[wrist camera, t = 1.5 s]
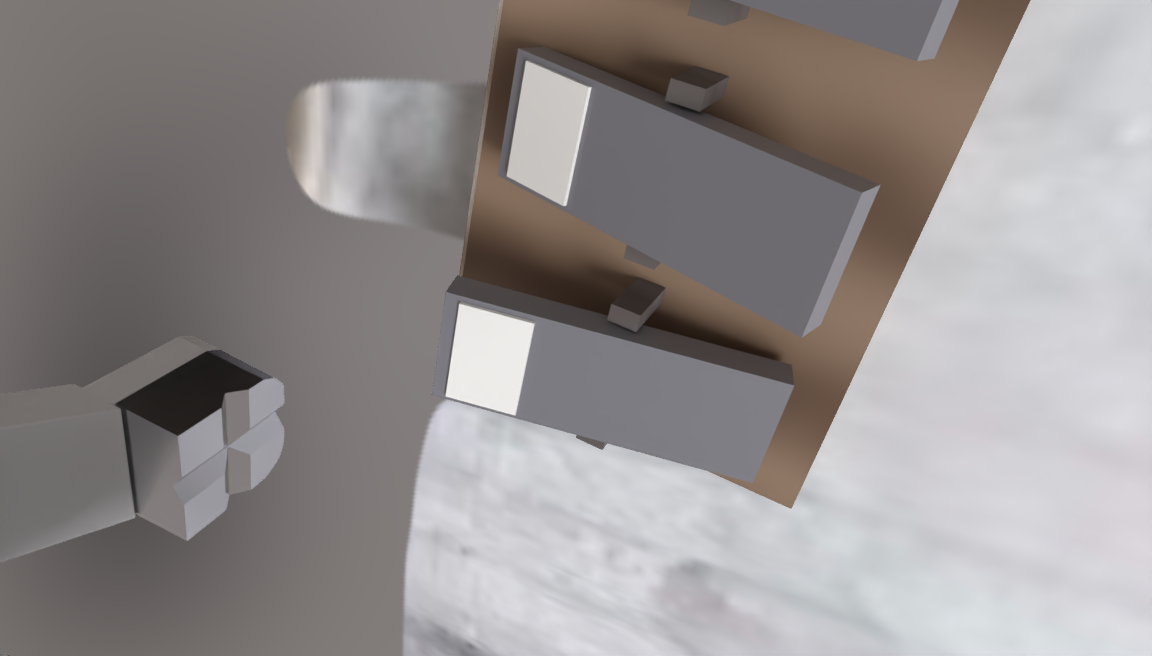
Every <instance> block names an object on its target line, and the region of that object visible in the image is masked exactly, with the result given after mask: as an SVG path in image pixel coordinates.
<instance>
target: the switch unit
mask: <svg viewBox="0 0 1152 656" xmlns="http://www.w3.org/2000/svg"><path fill="white" fill-rule="evenodd" d="M1029 2H1030V0H959V2H958V4H957V7H956V9H955V11H954V14H953V16H952V18H951V21H950V23H949V25H948V28H947V30H946V33H945V35H944V37H943V40H942V42H941V44H940V47H939V49H938V51H937V54H936V56H935V58H934V59H928V60H921V61H915V60H912V59H909V58H906V57H903V56H900V55H897V54H894V53H890V52H887V51H884V50H881V49H878V48H875V47H872V46H869V45H866V44H863V43H860V42H857V41H854V40H850V39H847V38H844V37H841V36H838V35H835V34H832V33H829V32H826V31H823V30H820V29H817V28H814V27H810V26H807V25H804V24H801V23H798V22H795V21H792V20H789V19H786V18H783V17H780V16H777V15H773V14H770V13H767V12H764V11H761V10H758V9H755V8H752V7H749V6H746V5H743V4H740V3H737V2H733V1H730V0H499V6H498V13H497V20H496V27H495V34H494V41H493V48H492V54H491V61H490V69H489V75H488V82H487V89H486V96H485V102H484V109H483V116H482V123H481V130H480V137H479V144H478V150H477V157H476V164H475V171H474V178H473V185H472V192H471V198H470V205H469V212H468V219H467V226H466V233H465V240H464V247H463V253H462V261H461V267H460V274H459V276H462V277H465V278H469V279H473V280H477V281H480V282H484V283H488V284H492V285H495V286H499V287H503V288H506V289H510V290H514V291H518V292H521V293H525V294H529V295H533V296H536V297H540V298H544V299H548V300H551V301H555V302H559V303H563V304H566V305H570V306H574V307H577V308H581V309H585V310H589V311H592V312H596V313H600V314H604V315H607V316H608V319H607V320H608V321H610V322H613V323H615V324H618V325H620V326H622V327H625V328H627V329H630V330H632V331H634V332H637V331H638V329H639V328H640V327H641V326H642V325H645V326H648V327H652V328H656V329H660V330H663V331H667V332H671V333H675V334H678V335H682V336H686V337H690V338H693V339H697V340H701V341H705V342H708V343H712V344H716V345H719V346H723V347H727V348H731V349H734V350H738V351H742V352H746V353H749V354H753V355H757V356H761V357H764V358H768V359H772V360H776V361H779V362H783V363H787V364H790V365H792V370H793V378H794V388H793V390H792V392H791V395H790V397H789V399H788V402H787V404H786V406H785V409H784V411H783V414H782V416H781V418H780V421H779V423H778V425H777V428H776V430H775V432H774V435H773V437H772V439H771V442H770V444H769V446H768V449H767V451H766V453H765V456H764V458H763V460H762V463H761V465H760V467H759V470H758V472H757V474H756V477H755V479H754V482H753V483H750V482H747V481H743V480H739V479H736V478H732V477H728V476H725V475H721V474H717V473H714V472H711V473H713V474H716V475H718V476H720V477H722V478H724V479H727V480H729V481H731V482H733V483H735V484H738V485H740V486H742V487H744V488H746V489H749V490H751V491H753V492H755V493H757V494H760V495H762V496H764V497H766V498H768V499H771V500H773V501H775V502H777V503H779V504H782V505H784V506H786V507H788V508H792V506H793V504H794V502H795V500H796V498H797V495H798V493H799V491H800V489H801V487H802V485H803V483H804V481H805V478H806V476H807V474H808V472H809V470H810V468H811V466H812V464H813V461H814V459H815V457H816V455H817V453H818V451H819V449H820V447H821V444H822V442H823V440H824V438H825V436H826V434H827V432H828V430H829V427H830V425H831V423H832V421H833V419H834V417H835V415H836V413H837V410H838V408H839V406H840V404H841V402H842V400H843V398H844V396H845V393H846V391H847V389H848V387H849V385H850V383H851V381H852V379H853V376H854V374H855V372H856V370H857V368H858V366H859V364H860V361H861V359H862V357H863V355H864V353H865V351H866V349H867V347H868V344H869V342H870V340H871V338H872V336H873V334H874V332H875V330H876V327H877V325H878V323H879V321H880V319H881V317H882V315H883V313H884V310H885V308H886V306H887V304H888V302H889V300H890V298H891V296H892V293H893V291H894V289H895V287H896V285H897V283H898V281H899V279H900V276H901V274H902V272H903V270H904V268H905V266H906V264H907V262H908V259H909V257H910V255H911V253H912V251H913V249H914V247H915V245H916V242H917V240H918V238H919V236H920V234H921V232H922V230H923V228H924V225H925V223H926V221H927V219H928V217H929V215H930V213H931V210H932V208H933V206H934V204H935V202H936V200H937V198H938V196H939V193H940V191H941V189H942V187H943V185H944V183H945V181H946V179H947V176H948V174H949V172H950V170H951V168H952V166H953V164H954V162H955V159H956V157H957V155H958V153H959V151H960V149H961V147H962V145H963V142H964V140H965V138H966V136H967V134H968V132H969V130H970V128H971V125H972V123H973V121H974V119H975V117H976V115H977V113H978V111H979V108H980V106H981V104H982V102H983V100H984V98H985V96H986V94H987V91H988V89H989V87H990V85H991V83H992V81H993V79H994V77H995V74H996V72H997V70H998V68H999V66H1000V64H1001V62H1002V59H1003V57H1004V55H1005V53H1006V51H1007V49H1008V47H1009V45H1010V42H1011V40H1012V38H1013V36H1014V34H1015V32H1016V30H1017V28H1018V25H1019V23H1020V21H1021V19H1022V17H1023V15H1024V13H1025V11H1026V8H1027V6H1028V4H1029ZM534 47H546V48H549V49H551V50H554V51H556V52H559V53H561V54H563V55H566V56H568V57H571V58H573V59H576V60H578V61H580V62H583V63H585V64H588V65H590V66H593V67H595V68H598V69H600V70H602V71H605V72H607V73H610V74H612V75H615V76H617V77H619V78H622V79H624V80H627V81H629V82H632V83H634V84H637V85H639V86H641V87H644V88H646V89H649V90H651V91H654V92H656V93H658V94H661V95H663V96H666V98H665V101H669V102H672V103H675V104H678V105H681V106H684V107H687V108H690V109H693V110H696V111H699V112H700V111H702V112H705V113H707V114H710V115H712V116H715V117H717V118H719V119H722V120H724V121H727V122H729V123H732V124H734V125H736V126H739V127H741V128H744V129H746V130H749V131H751V132H754V133H756V134H758V135H761V136H763V137H766V138H768V139H771V140H773V141H775V142H778V143H780V144H783V145H785V146H788V147H790V148H793V149H795V150H797V151H800V152H802V153H805V154H807V155H810V156H812V157H814V158H817V159H819V160H822V161H824V162H827V163H829V164H832V165H834V166H836V167H839V168H841V169H844V170H846V171H849V172H851V173H853V174H856V175H858V176H861V177H863V178H866V179H868V180H870V181H873V182H875V183H878V184H880V187H879V190H878V192H877V194H876V197H875V199H874V201H873V204H872V206H871V208H870V211H869V213H868V215H867V218H866V220H865V222H864V225H863V227H862V229H861V232H860V234H859V236H858V239H857V241H856V243H855V246H854V248H853V250H852V253H851V255H850V257H849V260H848V262H847V264H846V267H845V269H844V272H843V274H842V276H841V279H840V281H839V283H838V286H837V288H836V290H835V293H834V295H833V297H832V300H831V302H830V304H829V307H828V309H827V311H826V314H825V316H824V318H823V321H822V323H821V325H819V326H818V327H816V328H815V329H814V330H812V331H811V332H809V333H808V334H806V335H805V336H804V337H802V338H801V337H799V336H797V335H796V334H794V333H792V332H790V331H788V330H786V329H784V328H782V327H781V326H779V325H777V324H775V323H773V322H771V321H769V320H767V319H766V318H764V317H762V316H760V315H758V314H756V313H754V312H752V311H751V310H749V309H747V308H745V307H743V306H741V305H739V304H738V303H736V302H734V301H732V300H730V299H728V298H726V297H724V296H723V295H721V294H719V293H717V292H715V291H713V290H711V289H709V288H708V287H706V286H704V285H702V284H700V283H698V282H696V281H694V280H693V279H691V278H689V277H687V276H685V275H683V274H681V273H679V272H678V271H676V270H674V269H672V268H670V267H668V266H666V265H664V264H663V263H661V262H659V261H657V260H655V259H653V258H651V257H649V256H648V255H646V254H644V253H642V252H640V251H638V250H636V249H634V248H633V247H631V246H629V245H627V244H625V243H623V242H621V241H619V240H618V239H616V238H614V237H612V236H610V235H608V234H606V233H604V232H603V231H601V230H599V229H597V228H595V227H593V226H591V225H589V224H588V223H586V222H584V221H582V220H580V219H578V218H576V217H574V216H573V215H571V214H569V213H567V212H565V211H563V210H561V209H559V208H558V207H556V206H554V205H552V204H550V203H548V202H546V201H544V200H543V199H541V198H539V197H537V196H535V195H533V194H531V193H529V192H528V191H526V190H524V189H522V188H520V187H518V186H516V185H515V184H513V183H511V182H509V181H507V180H505V179H503V178H501V177H500V176H498V169H499V163H500V157H501V151H502V145H503V138H504V132H505V126H506V120H507V114H508V108H509V101H510V95H511V89H512V83H513V77H514V71H515V64H516V58H517V52H518V48H534ZM576 438H578V439H580V440H582V441H584V442H586V443H588V444H591V445H593V446H595V447H597V448H599V449H601V450H603V448H604V447H605V445H606V444H607V443H605V442H601V441H597V440H594V439H590V438H586V437H583V436H579V435H577V436H576ZM709 472H710V471H709Z"/></svg>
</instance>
